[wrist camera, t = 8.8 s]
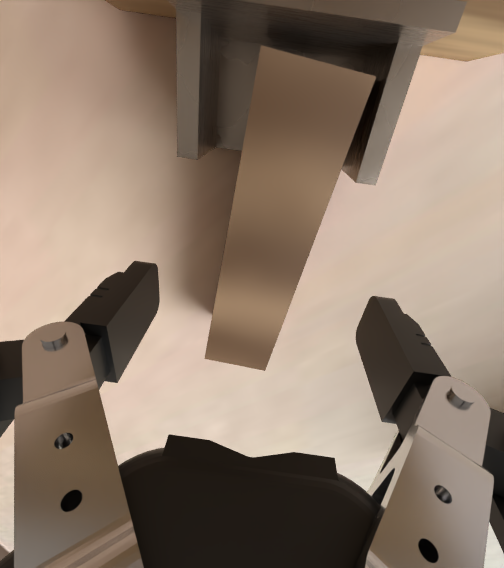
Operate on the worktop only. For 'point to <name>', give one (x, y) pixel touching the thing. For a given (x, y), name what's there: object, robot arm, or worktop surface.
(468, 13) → the wooden angled panel
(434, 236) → the worktop surface
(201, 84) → the bracket
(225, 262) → the rail
